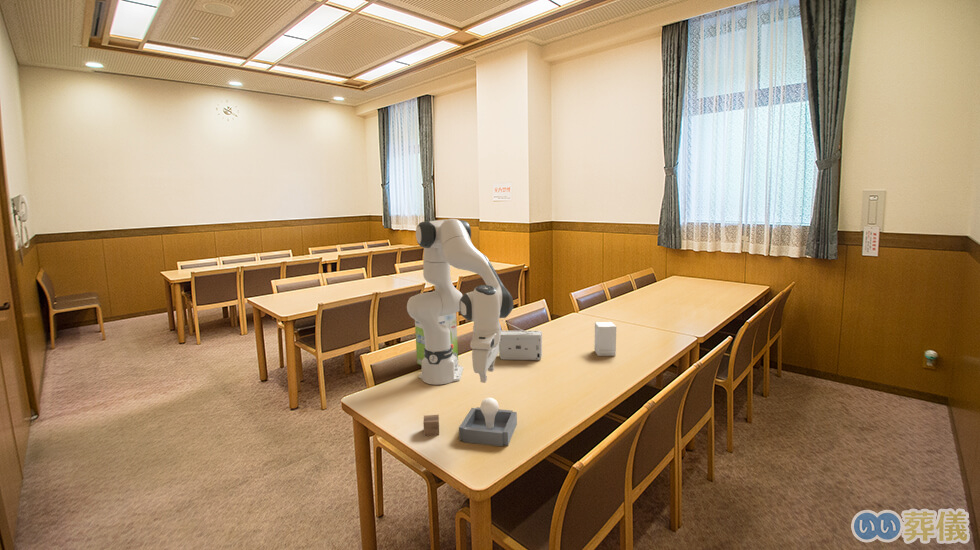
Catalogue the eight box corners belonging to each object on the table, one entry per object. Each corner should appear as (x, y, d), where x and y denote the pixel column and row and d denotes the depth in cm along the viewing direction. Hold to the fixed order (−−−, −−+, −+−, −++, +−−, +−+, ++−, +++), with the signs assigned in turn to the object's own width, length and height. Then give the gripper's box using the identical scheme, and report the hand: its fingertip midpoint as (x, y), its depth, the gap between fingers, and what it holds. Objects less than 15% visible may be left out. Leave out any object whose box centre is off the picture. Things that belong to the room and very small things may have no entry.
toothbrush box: (428, 369, 215) (425, 318, 211) (416, 364, 223) (413, 314, 219) (459, 360, 226) (456, 312, 222) (446, 355, 234) (444, 308, 230)
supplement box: (616, 356, 228) (616, 326, 226) (597, 356, 228) (598, 326, 226) (611, 350, 237) (612, 321, 235) (594, 350, 237) (594, 321, 235)
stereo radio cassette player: (541, 355, 231) (541, 316, 228) (542, 361, 223) (542, 320, 220) (499, 355, 233) (499, 316, 230) (498, 360, 225) (497, 320, 222)
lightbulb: (502, 428, 158) (502, 398, 156) (490, 435, 153) (489, 404, 151) (489, 423, 162) (488, 393, 160) (477, 429, 157) (476, 398, 155)
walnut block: (424, 429, 160) (423, 415, 159) (439, 428, 160) (438, 414, 160) (424, 436, 155) (423, 422, 154) (439, 435, 155) (438, 421, 155)
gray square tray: (472, 418, 167) (472, 406, 166) (517, 423, 163) (517, 411, 162) (458, 441, 151) (458, 428, 150) (507, 447, 147) (507, 433, 146)
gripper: (485, 326, 162) (486, 364, 164) (468, 345, 142) (469, 387, 145) (503, 327, 160) (503, 365, 163) (488, 346, 141) (489, 389, 143)
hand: (487, 376), depth 154 cm, fingers open, 8 cm apart
